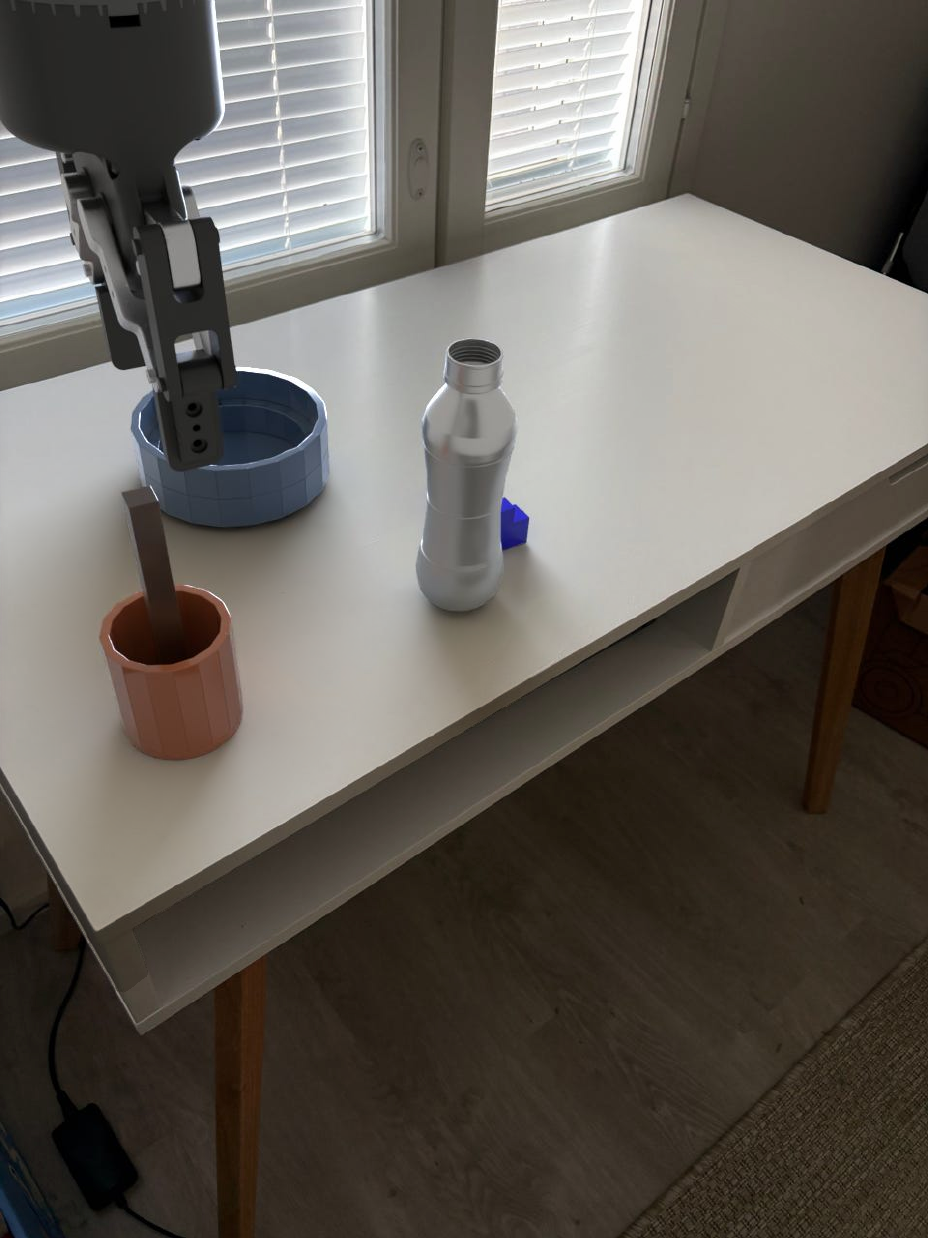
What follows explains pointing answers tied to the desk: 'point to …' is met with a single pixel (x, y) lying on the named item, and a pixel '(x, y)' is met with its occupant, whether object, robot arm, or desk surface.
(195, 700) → the crock
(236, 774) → the desk surface
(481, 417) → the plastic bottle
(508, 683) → the desk surface
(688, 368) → the desk surface
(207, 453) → the robot arm
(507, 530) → the cable holder
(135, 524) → the disc-ended square rod
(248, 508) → the bowl
